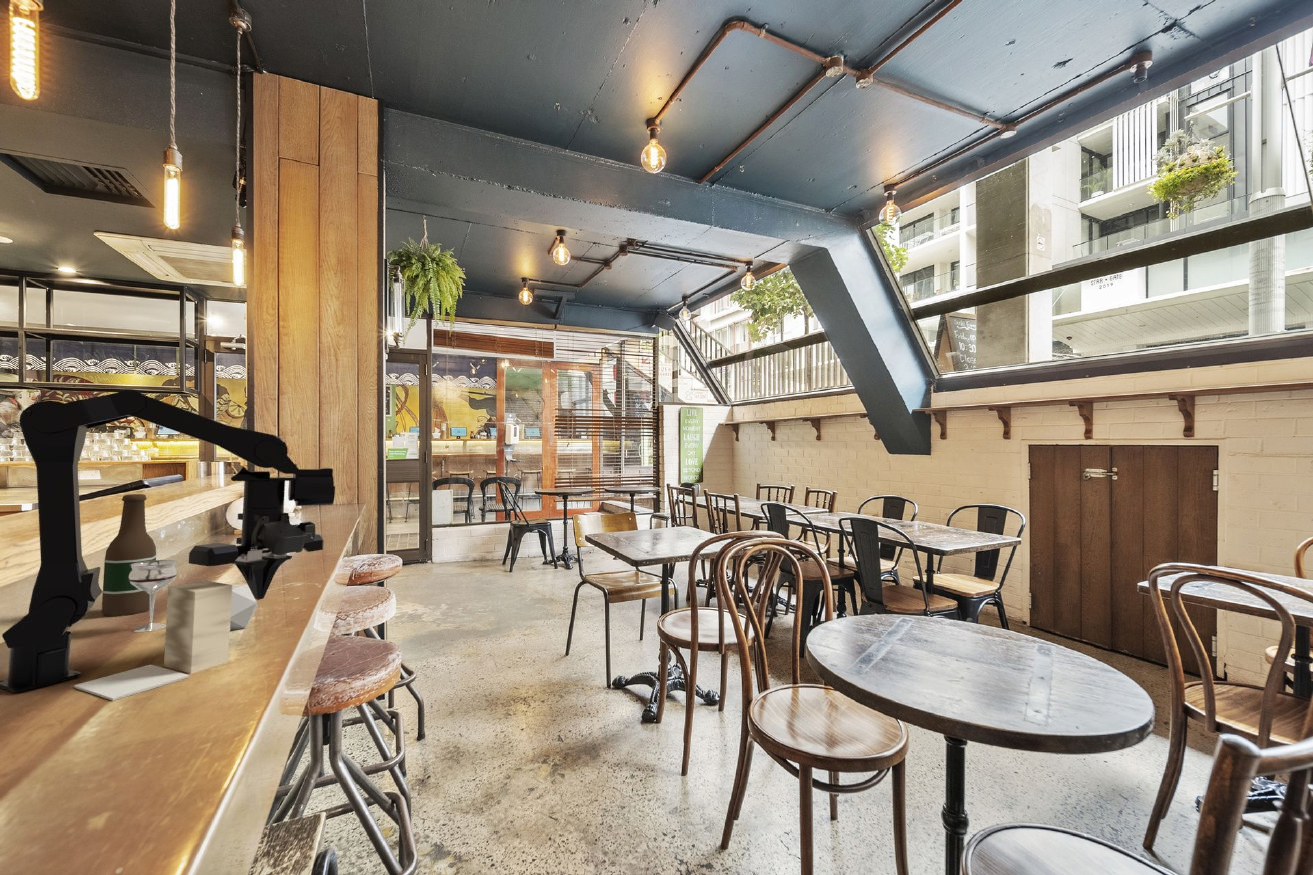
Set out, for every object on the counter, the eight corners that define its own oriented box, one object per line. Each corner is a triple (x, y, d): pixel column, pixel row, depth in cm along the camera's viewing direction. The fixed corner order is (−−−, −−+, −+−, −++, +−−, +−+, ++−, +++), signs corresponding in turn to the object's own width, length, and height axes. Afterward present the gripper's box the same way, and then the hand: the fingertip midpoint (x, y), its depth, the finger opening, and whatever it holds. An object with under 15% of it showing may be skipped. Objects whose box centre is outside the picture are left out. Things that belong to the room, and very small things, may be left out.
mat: (73, 687, 75) (74, 685, 75) (150, 666, 83) (150, 664, 83) (112, 700, 71) (112, 698, 71) (189, 677, 79) (189, 675, 79)
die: (261, 622, 108) (233, 583, 108) (275, 607, 103) (245, 566, 103) (215, 648, 101) (185, 607, 101) (227, 634, 96) (195, 590, 96)
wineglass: (182, 621, 106) (185, 558, 106) (163, 631, 99) (166, 565, 100) (138, 623, 103) (142, 560, 104) (116, 634, 97) (120, 567, 98)
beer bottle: (148, 604, 117) (154, 492, 118) (158, 610, 112) (164, 494, 113) (97, 612, 111) (104, 494, 112) (105, 619, 106) (112, 496, 107)
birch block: (163, 665, 83) (168, 586, 84) (203, 654, 88) (206, 580, 88) (191, 673, 80) (195, 591, 81) (229, 661, 85) (233, 584, 86)
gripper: (233, 514, 82) (227, 619, 81) (346, 505, 99) (342, 592, 98) (189, 510, 86) (183, 610, 85) (304, 503, 103) (301, 586, 102)
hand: (259, 599), depth 93 cm, fingers closed
